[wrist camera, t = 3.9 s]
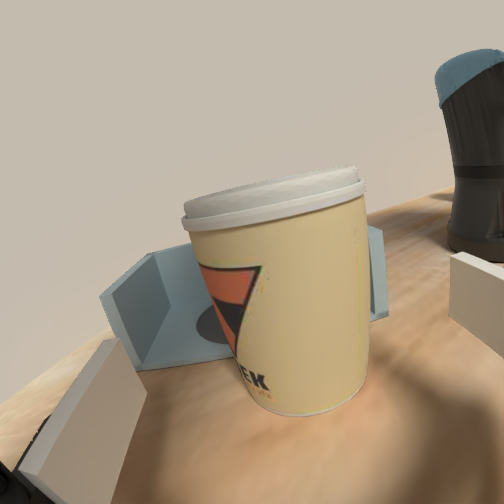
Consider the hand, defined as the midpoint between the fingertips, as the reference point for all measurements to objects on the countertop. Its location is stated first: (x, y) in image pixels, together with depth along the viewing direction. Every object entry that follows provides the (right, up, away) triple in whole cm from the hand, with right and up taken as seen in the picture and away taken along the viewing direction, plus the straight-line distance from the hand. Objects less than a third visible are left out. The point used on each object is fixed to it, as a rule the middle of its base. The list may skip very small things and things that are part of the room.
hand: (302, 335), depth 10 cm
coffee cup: (+2, -5, +7) cm, 9 cm away
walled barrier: (-2, -3, +18) cm, 18 cm away
